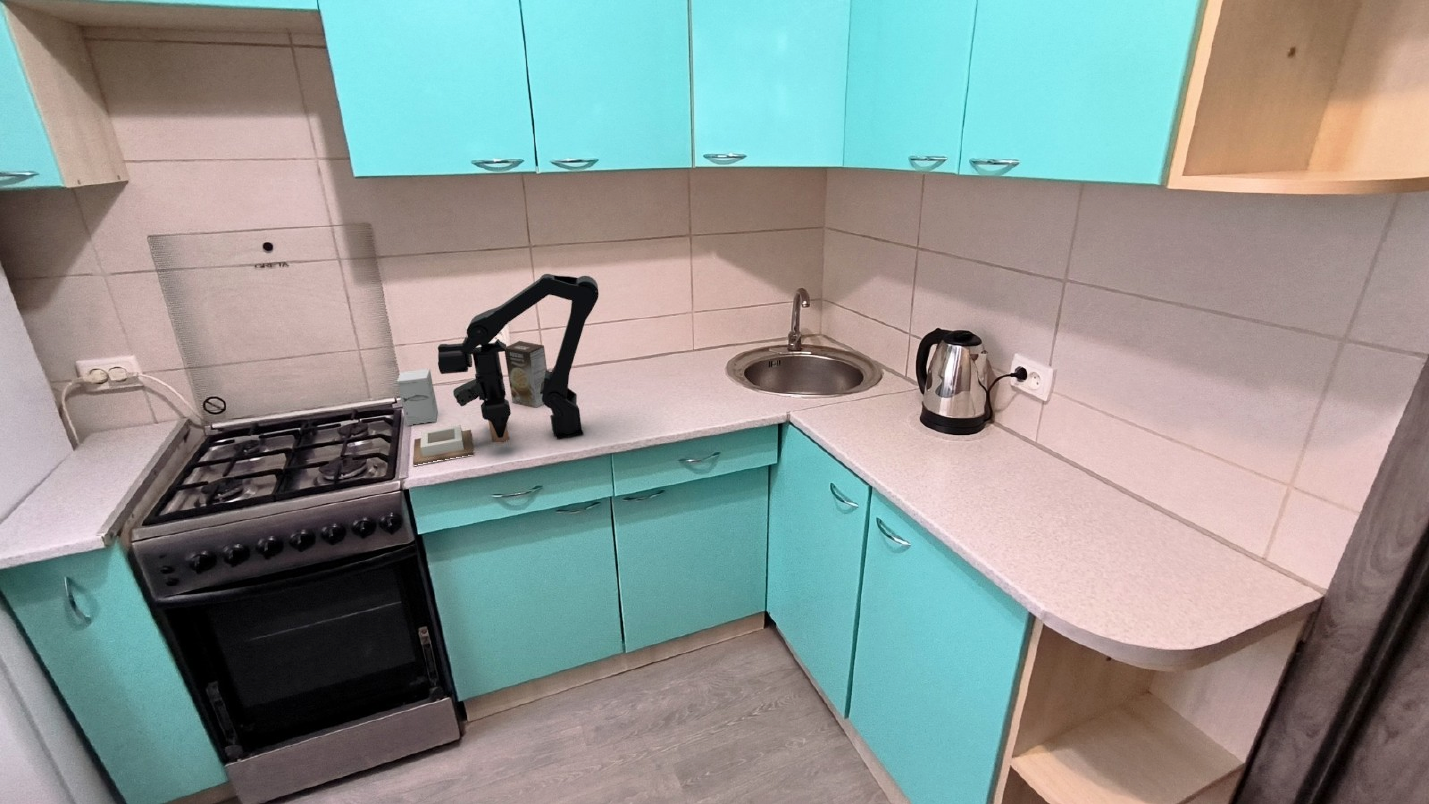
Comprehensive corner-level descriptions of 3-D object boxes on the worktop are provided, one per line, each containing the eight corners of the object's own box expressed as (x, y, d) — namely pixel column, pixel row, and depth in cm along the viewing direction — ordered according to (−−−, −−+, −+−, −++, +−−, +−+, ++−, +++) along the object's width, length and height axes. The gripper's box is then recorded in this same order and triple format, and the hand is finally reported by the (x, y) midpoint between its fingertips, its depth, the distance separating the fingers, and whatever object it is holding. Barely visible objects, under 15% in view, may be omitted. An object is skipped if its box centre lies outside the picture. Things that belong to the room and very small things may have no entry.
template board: (471, 433, 167) (469, 420, 166) (473, 455, 156) (471, 442, 155) (415, 442, 163) (412, 429, 162) (413, 466, 152) (410, 453, 151)
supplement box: (406, 426, 172) (395, 381, 167) (409, 415, 179) (399, 371, 174) (436, 422, 174) (426, 377, 169) (439, 411, 180) (430, 367, 175)
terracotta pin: (508, 434, 166) (503, 404, 163) (509, 441, 163) (504, 410, 160) (491, 437, 165) (486, 407, 162) (492, 444, 162) (487, 413, 158)
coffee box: (511, 402, 185) (502, 347, 178) (527, 394, 190) (518, 340, 183) (536, 408, 181) (528, 351, 174) (552, 399, 186) (545, 344, 179)
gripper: (451, 362, 162) (462, 420, 168) (452, 388, 146) (465, 452, 152) (499, 355, 166) (508, 413, 172) (505, 380, 150) (515, 443, 156)
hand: (499, 429), depth 163 cm, fingers open, 9 cm apart
